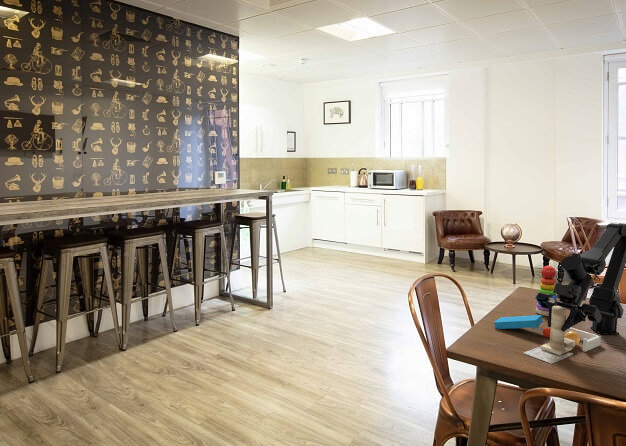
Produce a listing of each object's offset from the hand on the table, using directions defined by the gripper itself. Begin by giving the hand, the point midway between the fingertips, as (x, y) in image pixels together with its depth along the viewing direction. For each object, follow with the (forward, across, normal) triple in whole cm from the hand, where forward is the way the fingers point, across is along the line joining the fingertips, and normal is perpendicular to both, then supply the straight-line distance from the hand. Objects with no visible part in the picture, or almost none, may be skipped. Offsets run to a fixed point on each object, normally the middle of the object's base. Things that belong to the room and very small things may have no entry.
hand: (555, 328), depth 149 cm
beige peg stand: (+3, 0, +7) cm, 7 cm away
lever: (0, -16, +12) cm, 20 cm away
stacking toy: (-18, -22, +29) cm, 40 cm away
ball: (-4, 0, +11) cm, 12 cm away
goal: (-4, 0, +14) cm, 15 cm away
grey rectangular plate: (+8, 0, +3) cm, 9 cm away
